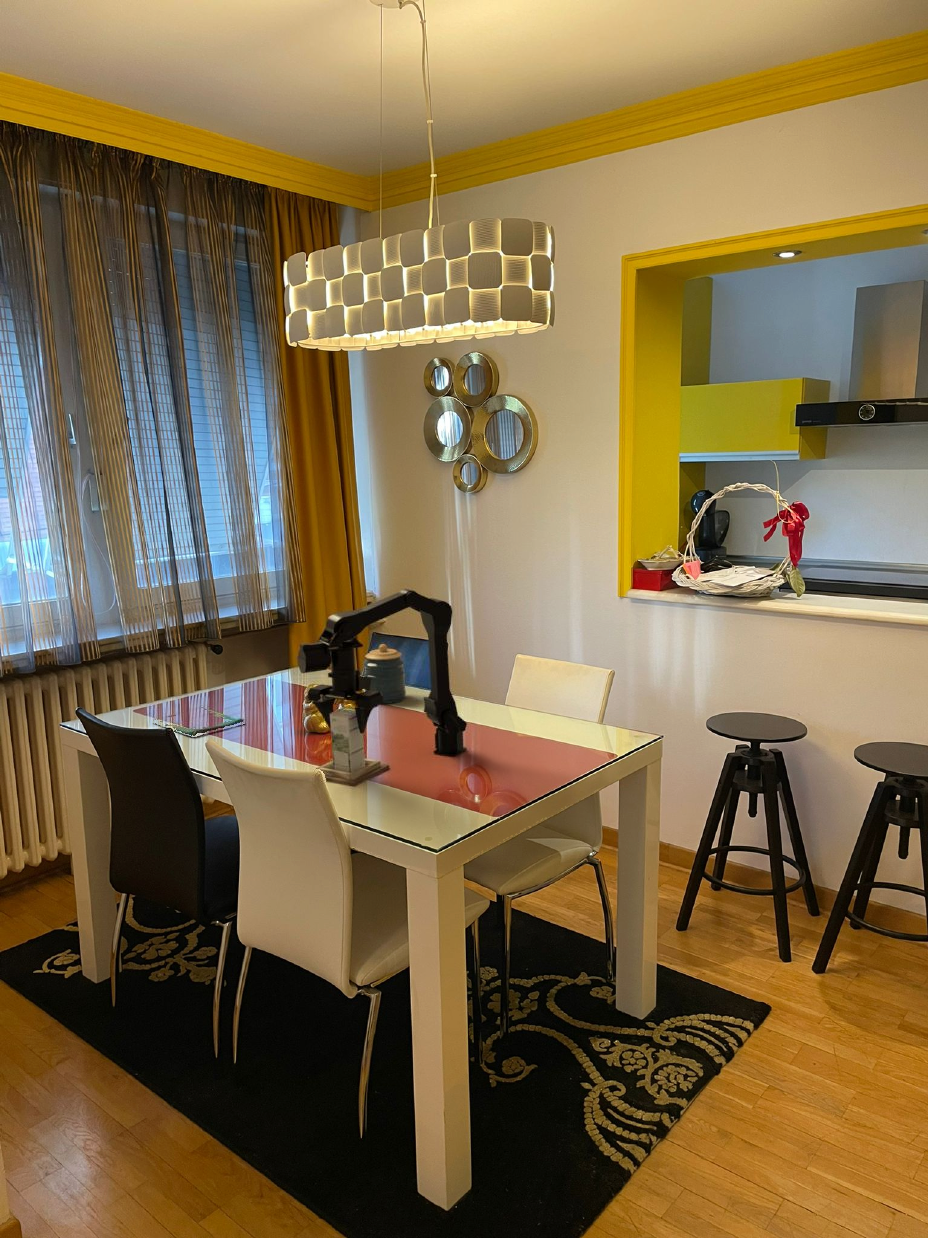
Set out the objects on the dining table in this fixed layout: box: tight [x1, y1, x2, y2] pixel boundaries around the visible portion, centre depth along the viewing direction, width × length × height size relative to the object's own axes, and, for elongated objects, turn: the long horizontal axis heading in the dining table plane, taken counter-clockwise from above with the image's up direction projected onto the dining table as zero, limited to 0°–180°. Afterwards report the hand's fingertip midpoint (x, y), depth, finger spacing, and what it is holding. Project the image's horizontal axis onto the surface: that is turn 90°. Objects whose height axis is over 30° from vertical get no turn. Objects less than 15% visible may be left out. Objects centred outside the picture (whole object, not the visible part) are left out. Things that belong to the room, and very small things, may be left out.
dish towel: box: [154, 707, 245, 736], centre depth 267 cm, size 17×23×3 cm
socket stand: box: [315, 758, 390, 787], centre depth 221 cm, size 14×14×2 cm
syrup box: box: [330, 707, 366, 773], centre depth 220 cm, size 6×6×14 cm
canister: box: [362, 643, 407, 705], centre depth 287 cm, size 13×13×18 cm
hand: (346, 730), depth 220 cm, fingers open, 9 cm apart
